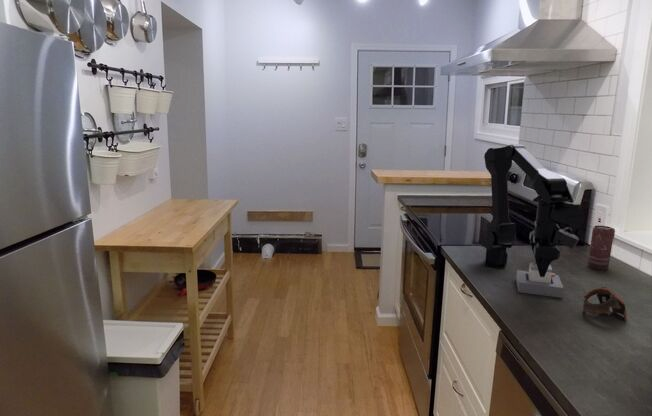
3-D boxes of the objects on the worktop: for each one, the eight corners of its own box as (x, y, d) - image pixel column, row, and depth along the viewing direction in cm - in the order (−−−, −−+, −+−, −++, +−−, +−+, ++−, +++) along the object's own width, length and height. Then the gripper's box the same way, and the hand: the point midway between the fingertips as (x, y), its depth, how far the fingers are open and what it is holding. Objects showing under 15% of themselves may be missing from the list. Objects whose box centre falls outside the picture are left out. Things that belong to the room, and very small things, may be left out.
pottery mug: (633, 329, 112) (621, 303, 110) (591, 335, 117) (579, 310, 115) (624, 299, 122) (614, 274, 120) (586, 306, 127) (575, 283, 125)
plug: (528, 289, 134) (531, 267, 132) (527, 284, 138) (529, 262, 136) (549, 292, 132) (552, 269, 131) (547, 286, 136) (550, 264, 135)
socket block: (518, 291, 132) (519, 280, 131) (516, 279, 142) (517, 268, 141) (562, 297, 128) (563, 286, 128) (557, 284, 138) (558, 273, 137)
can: (612, 271, 150) (618, 230, 146) (590, 269, 151) (597, 229, 148) (604, 265, 155) (611, 225, 152) (584, 263, 157) (590, 224, 154)
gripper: (584, 231, 119) (576, 287, 123) (572, 215, 136) (565, 264, 140) (538, 227, 123) (531, 281, 126) (532, 212, 140) (526, 260, 143)
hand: (540, 271), depth 134 cm, fingers open, 9 cm apart
